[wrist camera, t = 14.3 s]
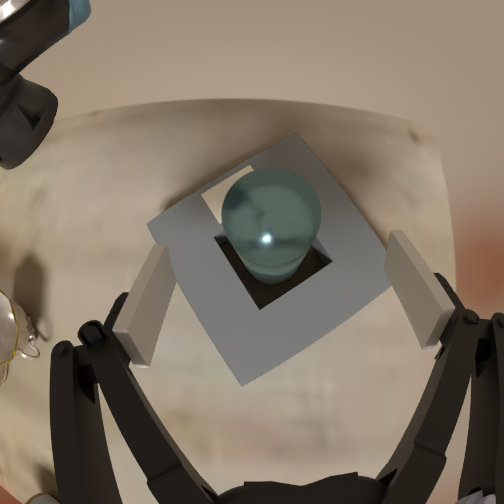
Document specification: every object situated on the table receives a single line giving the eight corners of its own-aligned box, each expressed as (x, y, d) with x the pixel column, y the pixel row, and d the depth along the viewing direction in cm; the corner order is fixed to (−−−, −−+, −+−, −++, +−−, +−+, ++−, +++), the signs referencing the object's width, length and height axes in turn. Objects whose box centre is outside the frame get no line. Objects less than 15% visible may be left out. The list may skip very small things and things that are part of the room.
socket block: (158, 232, 27) (145, 223, 24) (294, 149, 28) (296, 132, 25) (245, 378, 24) (241, 386, 21) (389, 279, 25) (403, 275, 22)
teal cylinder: (234, 248, 26) (203, 200, 15) (280, 219, 26) (284, 152, 15) (264, 295, 25) (256, 282, 14) (310, 264, 25) (341, 226, 14)
